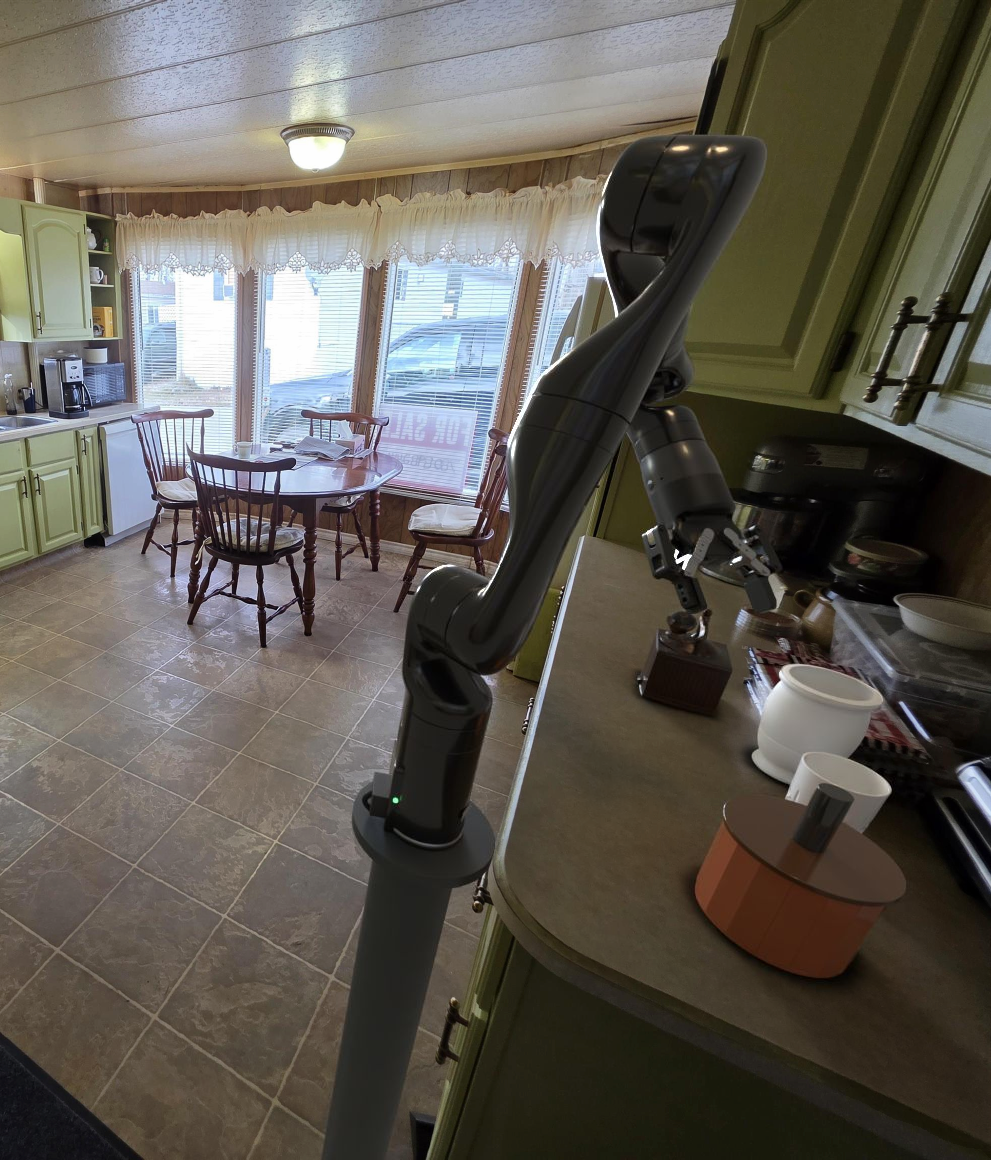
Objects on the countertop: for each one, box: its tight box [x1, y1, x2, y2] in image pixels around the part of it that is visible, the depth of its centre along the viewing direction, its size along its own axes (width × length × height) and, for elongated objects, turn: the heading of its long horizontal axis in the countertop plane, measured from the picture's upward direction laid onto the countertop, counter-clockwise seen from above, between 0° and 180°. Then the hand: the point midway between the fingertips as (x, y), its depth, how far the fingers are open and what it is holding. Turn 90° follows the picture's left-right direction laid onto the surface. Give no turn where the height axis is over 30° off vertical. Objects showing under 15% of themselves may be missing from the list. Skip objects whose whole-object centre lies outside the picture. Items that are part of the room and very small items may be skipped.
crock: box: [694, 820, 889, 979], centre depth 64 cm, size 13×13×10 cm
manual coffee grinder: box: [636, 608, 733, 717], centre depth 102 cm, size 16×11×18 cm
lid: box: [721, 783, 907, 907], centre depth 61 cm, size 14×14×8 cm
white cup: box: [784, 752, 893, 834], centre depth 75 cm, size 8×8×10 cm
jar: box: [751, 663, 884, 786], centre depth 86 cm, size 11×10×15 cm
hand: (732, 611), depth 69 cm, fingers open, 8 cm apart
